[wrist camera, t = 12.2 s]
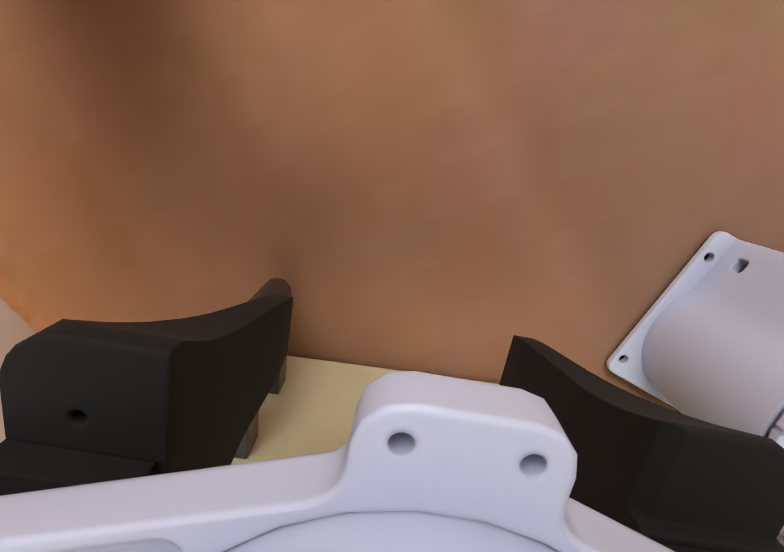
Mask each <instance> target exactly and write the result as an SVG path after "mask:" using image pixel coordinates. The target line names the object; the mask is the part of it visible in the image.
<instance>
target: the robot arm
mask: <svg viewBox="0 0 784 552" xmlns="http://www.w3.org/2000/svg"><path fill="white" fill-rule="evenodd" d="M707 253H709V257H708V258H707V259H706V260H704V257H705V255H706V254H707ZM292 305H293V297H290V296H284V295H278V294H270V295H266V296H263V297H260V298H257V299H254V300H251V301H248V302H246V303H243V304H240V305H237V306H233V307H230V308H227V309H223V310H220V311H216V312H213V313H209V314H204V315H200V316H194V317H189V318H183V319H174V320H164V321H154V322H95V321H80V320H67V319H62V320H60V321H58V322H56V323H55V324H53V325H51V326H49V327H47V328H45V329H44V330H42V331H40V332H38V333H36V334H35V335H33V336H31V337H29V338H27V339H26V340H23V341H22V342H20V343H18V344H16V345H15V346H14V347H13V348H12V349H11V350H10V352H9V353H8V354H7V355H6V356H5V359H4V361H3V364H2V366H1V369H0V393H1V402H2V410H3V418H4V426H5V435H6V438H7V439H5V440H4V441H3V442H1V443H0V552H784V253H783V252H779V251H776V250H773V249H769V248H766V247H762V246H759V245H755V244H752V243H749V242H745V241H742V240H738V239H736V238H735V237H733V236H732V235H730V234H729V233H726V232H723V231H717V232H715V233H713V234H712V235H711V236H710V237H709V238H708V239H707V241H706V242H705V243H704V244H703V245H702V247H701V248H700V249H699V250H698V251H697V253H696V254H695V255H694V256H693V257H692V259H691V260H690V261H689V262H688V263H687V265H686V266H685V267H684V268H683V269H682V271H681V272H680V273H679V274H678V275H677V277H676V278H675V279H674V280H673V281H672V283H671V284H670V285H669V286H668V287H667V289H666V290H665V291H664V292H663V294H662V295H661V296H660V297H659V298H658V300H657V301H656V302H655V303H654V304H653V306H652V307H651V308H650V309H649V310H648V312H647V313H646V314H645V315H644V316H643V318H642V319H641V320H640V321H639V322H638V324H637V325H636V326H635V327H634V328H633V330H632V331H631V332H630V333H629V334H628V336H627V337H626V338H625V339H624V340H623V342H622V343H621V344H620V345H619V346H618V348H617V349H616V350H615V351H614V353H613V354H612V355H611V356H610V357H609V359H608V360H607V362H606V366H607V368H608V369H609V370H610V371H611V372H612V373H614V374H616V375H618V376H619V377H621V378H623V379H625V380H626V381H628V382H630V383H632V384H633V385H635V386H637V387H639V388H641V389H642V390H644V391H646V392H648V393H649V394H651V395H653V396H655V397H656V398H658V399H660V400H662V401H663V402H665V403H667V404H669V405H670V406H672V407H674V408H676V409H677V410H678V411H679V412H680V413H678V412H675V411H672V410H670V409H667V408H665V407H662V406H660V405H657V404H654V403H652V402H649V401H647V400H645V399H642V398H640V397H638V396H635V395H633V394H631V393H629V392H627V391H625V390H623V389H621V388H619V387H616V386H615V385H613V384H611V383H609V382H607V381H605V380H603V379H601V378H600V377H598V376H596V375H594V374H593V373H591V372H589V371H587V370H586V369H584V368H582V367H581V366H579V365H578V364H576V363H574V362H573V361H571V360H569V359H568V358H566V357H565V356H563V355H562V354H560V353H558V352H557V351H555V350H553V349H552V348H550V347H549V346H547V345H545V344H543V343H541V342H539V341H537V340H535V339H532V338H526V337H521V336H515V335H514V336H513V340H512V343H511V347H510V350H509V353H508V357H507V360H506V364H505V367H504V370H503V374H502V377H501V381H500V384H499V385H495V384H489V383H483V382H477V381H471V380H465V379H459V378H453V377H448V376H442V375H436V374H430V373H424V372H418V371H403V372H388V373H386V374H385V375H383V376H381V377H380V378H378V379H376V380H375V381H373V382H371V383H370V384H368V385H367V386H366V388H365V390H364V392H363V394H362V395H361V397H360V399H359V401H358V403H357V405H356V410H355V416H354V422H353V427H352V431H351V434H350V437H349V439H348V440H347V442H346V443H345V444H344V445H343V446H342V447H340V448H339V449H337V450H335V451H331V452H324V453H316V454H309V455H301V456H294V457H286V458H279V459H271V460H264V461H256V462H249V463H241V464H234V465H231V463H232V461H233V459H234V457H235V454H236V452H237V450H238V447H239V445H240V443H241V441H242V439H243V437H244V435H245V433H246V431H247V429H248V427H249V426H250V424H251V422H252V421H253V419H254V417H255V415H256V414H257V412H258V410H259V409H260V407H261V405H262V404H263V402H264V400H265V399H266V397H267V395H268V393H269V392H270V390H271V388H272V387H273V385H274V383H275V381H276V380H277V378H278V375H279V373H280V370H281V368H282V365H283V363H284V360H285V358H286V355H287V348H288V339H289V331H290V322H291V313H292ZM622 355H625V356H624V358H623V359H622V360H619V358H620V357H621V356H622ZM779 533H780V534H781V536H780V537H779V538H778V540H777V539H776V538H777V536H778V534H779Z"/></svg>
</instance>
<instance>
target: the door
mask: <svg viewBox="0 0 784 552" xmlns="http://www.w3.org/2000/svg"><path fill="white" fill-rule="evenodd" d="M270 294H278V295H284V296H290V297H291V288H290V286H289V284H288V283H287V282H286V281H285V280H283V279H280V278H273V279H270V280H268V281H267V282H266V283H265V284H264V285H263V286H262V287H261V288H260V289H259V291H258V292H257V293H256V294H255V295H254V296H253V297H252V298H251V299H250V300H249V301H251V300H254V299H257V298H260V297H263V296H266V295H270ZM287 349H288V348H287ZM388 372H403V371H399V370H392V369H384V368H377V367H369V366H362V365H354V364H347V363H339V362H332V361H324V360H317V359H309V358H302V357H295V356H287V355H286V358H285V360H284V363H283V365H282V368H281V370H280V373H279V375H278V378H277V380H276V381H275V383H274V385H273V387H272V388H271V390H270V392H269V393H268V395H267V397H266V399H265V400H264V402H263V404H262V405H261V407H260V409H259V410H258V412H257V414H256V415H255V417H254V419H253V421H252V422H251V424H250V426H249V427H248V429H247V431H246V433H245V435H244V437H243V439H242V441H241V443H240V445H239V447H238V450H237V452H236V454H235V457H234V459H233V461H232V463H231V465H234V464H241V463H249V462H256V461H264V460H271V459H279V458H286V457H294V456H301V455H309V454H316V453H324V452H331V451H335V450H337V449H339V448H340V447H342V446H343V445H344V444H345V443H346V442H347V440H348V439H349V437H350V434H351V431H352V427H353V422H354V416H355V410H356V405H357V403H358V401H359V399H360V397H361V395H362V394H363V392H364V390H365V388H366V386H367V385H368V384H370V383H371V382H373V381H375V380H376V379H378V378H380V377H381V376H383V375H385V374H386V373H388ZM465 380H467V379H465ZM471 381H474V380H471ZM477 382H482V381H477ZM483 383H489V382H483ZM489 384H495V385H499V384H496V383H489Z"/></svg>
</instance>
